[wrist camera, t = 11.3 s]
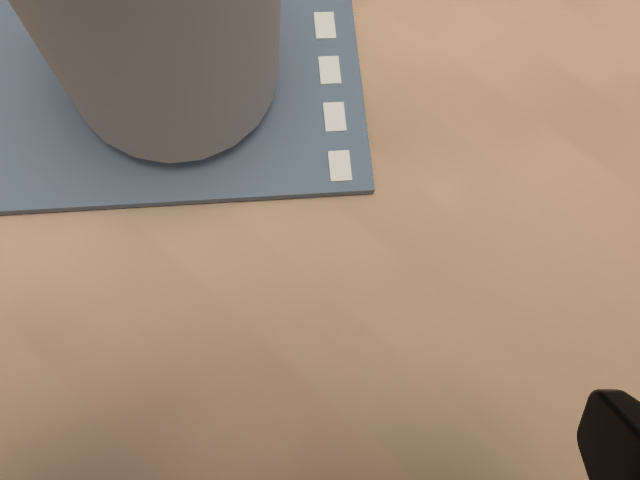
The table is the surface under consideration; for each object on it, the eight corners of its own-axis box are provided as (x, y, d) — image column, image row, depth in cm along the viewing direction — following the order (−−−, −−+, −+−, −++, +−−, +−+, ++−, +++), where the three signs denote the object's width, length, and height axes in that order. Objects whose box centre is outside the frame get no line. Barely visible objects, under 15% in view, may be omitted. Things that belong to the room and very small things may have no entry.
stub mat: (-20, 216, 21) (-27, 212, 21) (-5, -24, 24) (-11, -33, 23) (372, 193, 23) (375, 188, 22) (345, -31, 25) (347, -39, 25)
